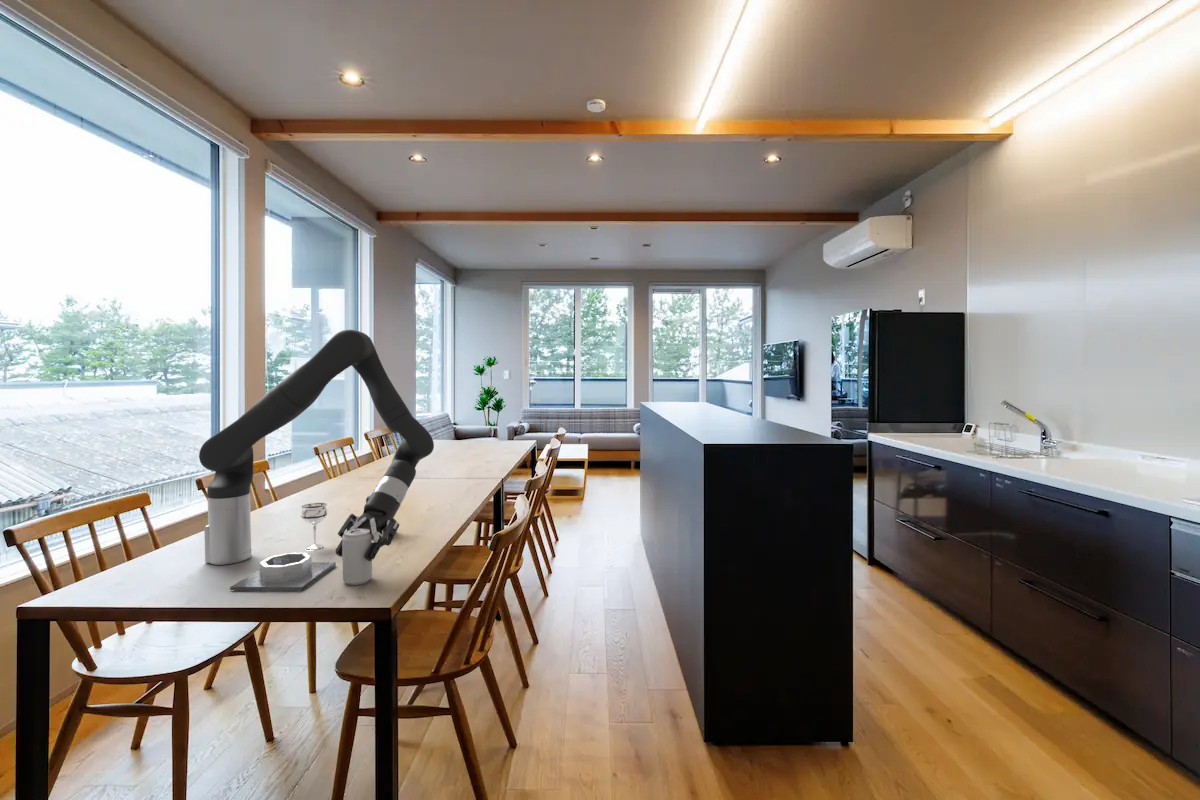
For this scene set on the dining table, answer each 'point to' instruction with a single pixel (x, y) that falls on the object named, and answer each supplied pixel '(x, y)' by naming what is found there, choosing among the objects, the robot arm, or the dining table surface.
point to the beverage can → (356, 556)
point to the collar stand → (284, 573)
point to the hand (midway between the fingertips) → (352, 557)
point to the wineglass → (314, 518)
